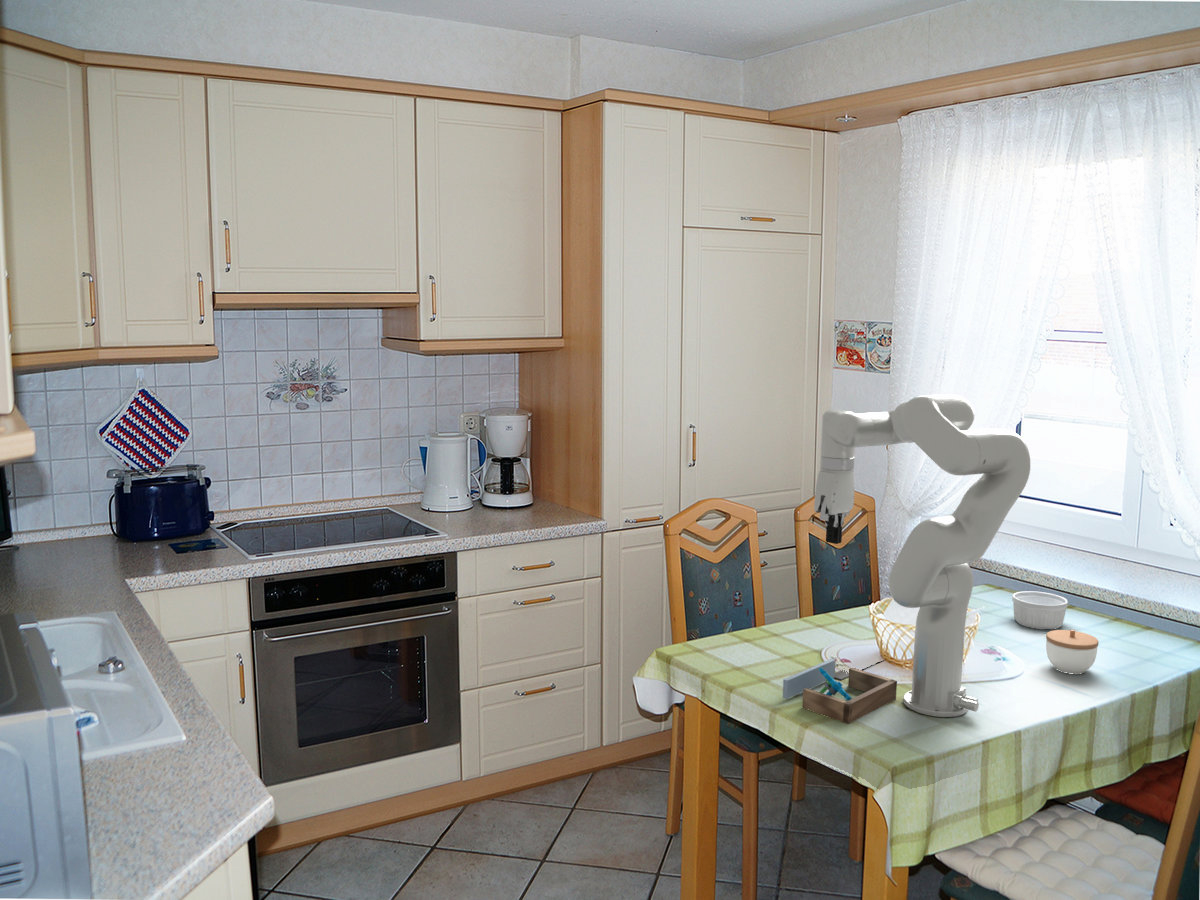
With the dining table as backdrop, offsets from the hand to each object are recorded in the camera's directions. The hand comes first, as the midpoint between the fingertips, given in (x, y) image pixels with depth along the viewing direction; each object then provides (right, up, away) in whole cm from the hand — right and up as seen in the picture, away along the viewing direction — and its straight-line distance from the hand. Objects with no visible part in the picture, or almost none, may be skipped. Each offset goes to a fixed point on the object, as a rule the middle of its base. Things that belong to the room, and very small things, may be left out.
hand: (833, 542), depth 233 cm
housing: (+3, -30, -16) cm, 34 cm away
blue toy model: (-5, -31, -25) cm, 40 cm away
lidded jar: (+53, -29, -4) cm, 60 cm away
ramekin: (+60, -24, +29) cm, 71 cm away
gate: (-9, -30, -18) cm, 36 cm away
